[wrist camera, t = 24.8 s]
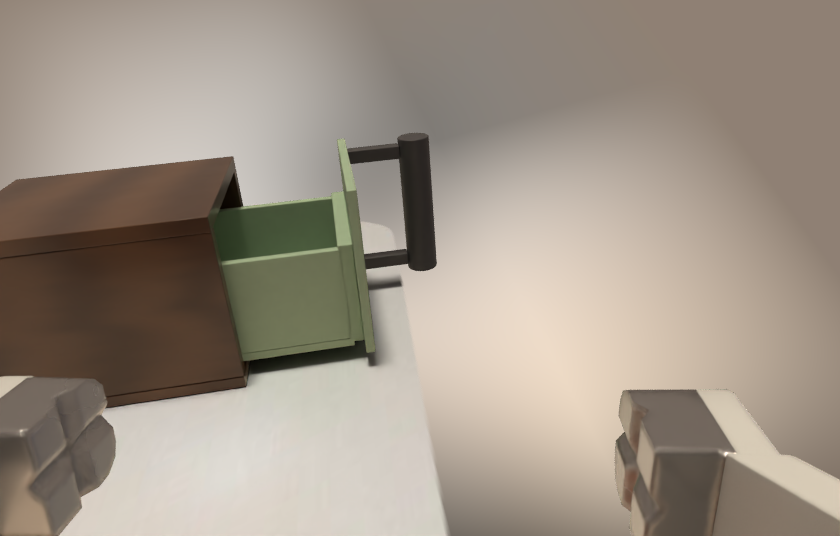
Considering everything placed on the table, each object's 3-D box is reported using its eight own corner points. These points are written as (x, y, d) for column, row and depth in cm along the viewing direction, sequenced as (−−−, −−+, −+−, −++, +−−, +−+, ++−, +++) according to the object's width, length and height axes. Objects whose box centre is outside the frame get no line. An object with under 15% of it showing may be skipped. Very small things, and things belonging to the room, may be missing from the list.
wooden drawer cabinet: (260, 292, 54) (233, 156, 49) (246, 386, 42) (207, 216, 37) (65, 318, 52) (15, 179, 47) (-12, 425, 40) (-91, 251, 35)
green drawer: (432, 259, 55) (424, 129, 50) (468, 338, 43) (461, 177, 38) (176, 292, 53) (141, 160, 48) (136, 386, 41) (84, 221, 36)
